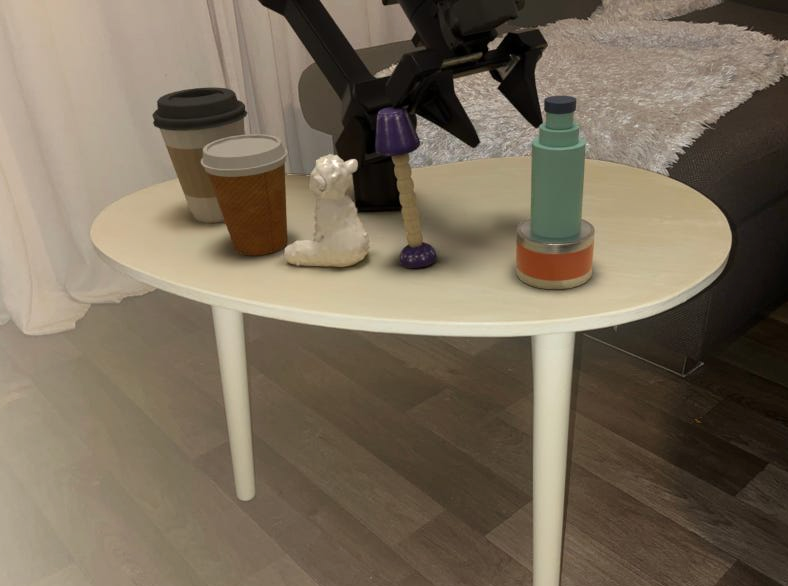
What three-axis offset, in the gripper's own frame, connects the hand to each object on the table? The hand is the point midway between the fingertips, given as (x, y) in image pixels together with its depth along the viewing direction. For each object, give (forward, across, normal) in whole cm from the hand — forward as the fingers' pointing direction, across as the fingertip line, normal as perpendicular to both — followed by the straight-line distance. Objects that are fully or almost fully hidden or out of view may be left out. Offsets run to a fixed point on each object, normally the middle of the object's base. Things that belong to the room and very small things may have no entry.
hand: (509, 135), depth 78 cm
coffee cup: (-16, -17, +36) cm, 43 cm away
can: (+14, 0, +5) cm, 15 cm away
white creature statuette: (0, -14, +19) cm, 24 cm away
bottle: (+11, 0, +1) cm, 11 cm away
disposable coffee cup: (-7, -18, +26) cm, 33 cm away
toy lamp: (+5, -9, +14) cm, 17 cm away
